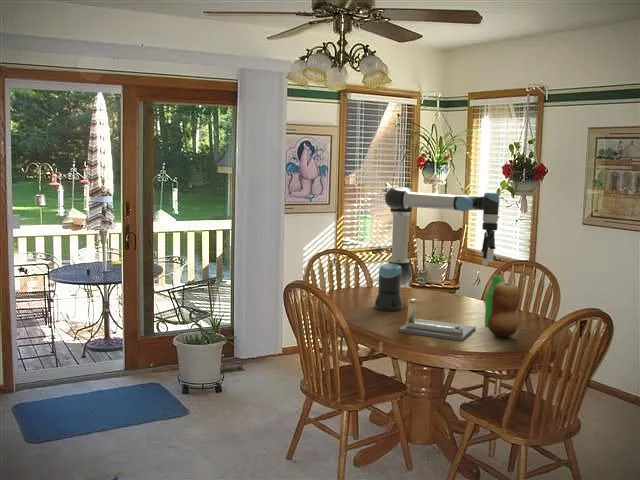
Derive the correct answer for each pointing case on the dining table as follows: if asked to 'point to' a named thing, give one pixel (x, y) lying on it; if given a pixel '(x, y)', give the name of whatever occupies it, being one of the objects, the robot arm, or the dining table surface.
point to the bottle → (489, 297)
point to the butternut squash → (504, 310)
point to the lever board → (440, 334)
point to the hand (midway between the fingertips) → (487, 263)
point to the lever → (412, 323)
